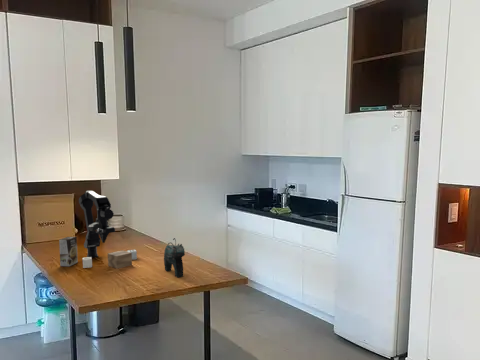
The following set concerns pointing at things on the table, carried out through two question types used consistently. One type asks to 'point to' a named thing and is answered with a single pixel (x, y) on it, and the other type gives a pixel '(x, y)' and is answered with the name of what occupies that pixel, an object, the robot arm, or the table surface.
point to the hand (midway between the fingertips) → (103, 242)
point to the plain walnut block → (119, 259)
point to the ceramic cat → (174, 258)
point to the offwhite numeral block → (87, 262)
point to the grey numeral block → (133, 253)
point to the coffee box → (68, 251)
